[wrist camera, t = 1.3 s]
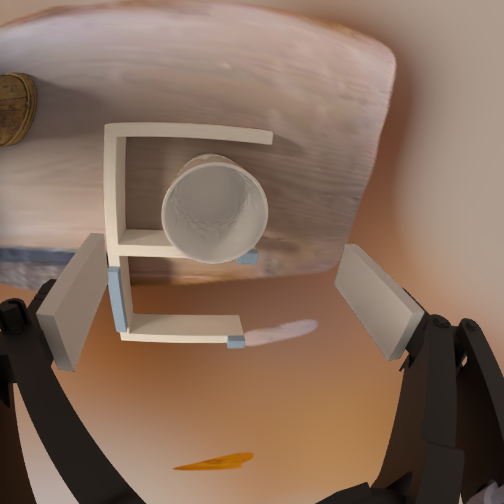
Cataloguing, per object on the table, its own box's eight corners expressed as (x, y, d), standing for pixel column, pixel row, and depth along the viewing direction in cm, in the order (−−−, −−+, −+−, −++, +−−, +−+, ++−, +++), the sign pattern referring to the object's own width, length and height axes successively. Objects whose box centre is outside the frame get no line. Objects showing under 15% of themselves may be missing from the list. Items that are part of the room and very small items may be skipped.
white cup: (164, 210, 30) (152, 252, 21) (182, 139, 27) (175, 150, 18) (233, 226, 32) (249, 272, 24) (256, 158, 29) (283, 179, 21)
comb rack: (126, 319, 35) (120, 346, 31) (116, 122, 25) (100, 124, 20) (238, 321, 39) (244, 348, 34) (263, 129, 28) (277, 133, 23)
